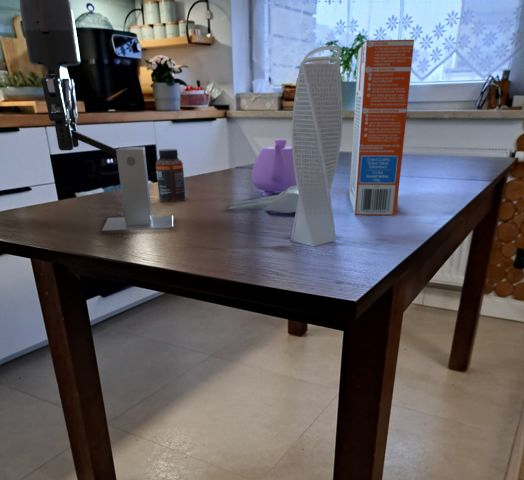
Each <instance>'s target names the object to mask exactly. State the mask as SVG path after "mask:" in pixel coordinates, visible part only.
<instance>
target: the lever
mask: <svg viewBox="0 0 524 480" xmlns="http://www.w3.org/2000/svg"><path fill="white" fill-rule="evenodd" d="M70 128H71V134H72V138H75V139H77V140H78V141H79V142H82V143H85V144H86V145H88V146H91V147H93V148H96V149H98V150H100V151H103V152H105V153H108V154H110V155H112V156H114V157H117V153H116V150H117V148H115V147H112V146H110V145H108V144H106V143H104V142H101V141H98V140H96V139H94V138H91V137H90V136H87V135H85V134H83V133H81V132H78V131H77V132H76V131H74V129H73V128H72V127H71V126H70Z"/></svg>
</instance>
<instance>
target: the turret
mask: <svg viewBox="0 0 524 480" xmlns="http://www.w3.org/2000/svg"><path fill="white" fill-rule="evenodd" d="M298 199H299V194H298V189H297V186H291V187H289V188H287V189H286V190H284V191H283V192H280V193H278V194H275V195H274V194H272V195H269V196H260V197H258V198H251V199H247V200H246V199H244V200H237V201H235V202H233V204H232V205H231V206H229V207H228V210H262V211H263V210H264V211H265V213H266V214H283V213H284V214H291V213H294V214H296V209H297V204H298Z"/></svg>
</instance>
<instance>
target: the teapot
mask: <svg viewBox="0 0 524 480" xmlns="http://www.w3.org/2000/svg"><path fill="white" fill-rule="evenodd" d="M274 144H275V146H265V147H263V148H262V149H261V151H260V152H259V154H258V156H257V157H256V159H255V161H254V163H253V166H252V171H251V175H250V181H251V183H252V184H253V185H254V187H255V188H256V189H257V190H259V191H263V193H262V196H265V197H267V196H273V195H274V194H273V193H274V192H275V193H276V192H278V193H279V192H280V193H281V192H283V191H284V190H286V189H287V188H289V187H291V186H297V184H296V178H295V171H294V164H293V154H292V145H291V146H290V145H289V146H287V145H286V144H287V140H286V139H274Z"/></svg>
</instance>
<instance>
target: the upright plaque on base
mask: <svg viewBox="0 0 524 480" xmlns="http://www.w3.org/2000/svg"><path fill="white" fill-rule="evenodd" d="M116 149H117V148H116ZM116 153H117V156H116V160H117V167H118V175H119V177H118V178H119V184H120V192H121V200H122V207H123V216H121V217H108V218H107V220H106V221H105V223H104V225H103V228H102V229H101V232H119V231H120V232H122V231H141V230H143V231H144V230H162V229H163V230H164V229H165V230H166V229H174V215H173V214H171V215H170V214H169V215H153V214H152V206H151V205H152V204H151V195H150V187H149V185H150V184H149V175H148V167H147V156H146V147H145V146H118V149H117V150H116Z"/></svg>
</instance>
